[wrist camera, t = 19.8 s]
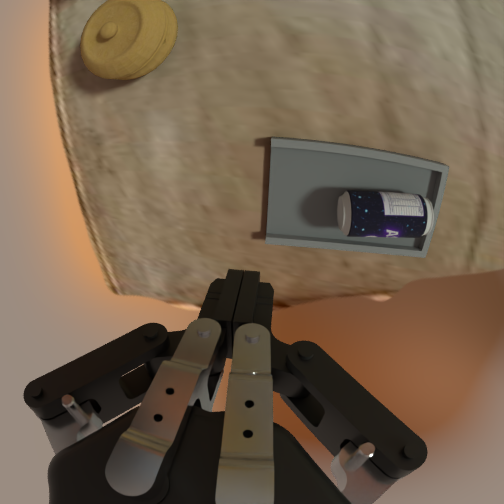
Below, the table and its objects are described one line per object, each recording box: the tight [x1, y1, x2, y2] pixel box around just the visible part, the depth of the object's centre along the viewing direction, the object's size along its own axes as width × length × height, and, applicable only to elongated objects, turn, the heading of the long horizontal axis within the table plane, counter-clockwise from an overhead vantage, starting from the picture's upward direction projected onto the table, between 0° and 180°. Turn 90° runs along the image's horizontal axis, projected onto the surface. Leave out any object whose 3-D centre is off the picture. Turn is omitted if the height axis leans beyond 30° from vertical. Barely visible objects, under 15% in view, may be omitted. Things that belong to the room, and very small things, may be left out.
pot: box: [80, 0, 178, 80], centre depth 23 cm, size 12×12×10 cm
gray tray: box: [265, 137, 449, 258], centre depth 35 cm, size 24×14×2 cm, turn 88°
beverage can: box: [337, 190, 434, 238], centre depth 33 cm, size 6×6×12 cm
